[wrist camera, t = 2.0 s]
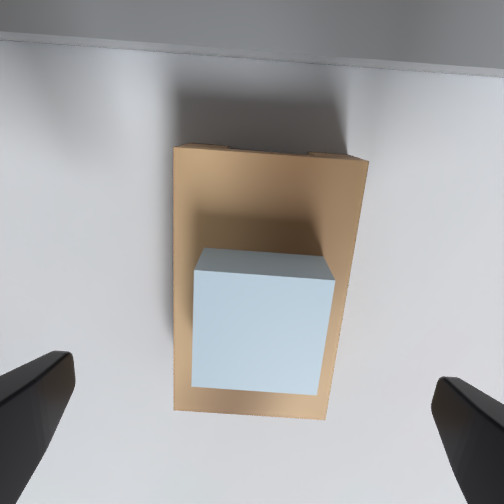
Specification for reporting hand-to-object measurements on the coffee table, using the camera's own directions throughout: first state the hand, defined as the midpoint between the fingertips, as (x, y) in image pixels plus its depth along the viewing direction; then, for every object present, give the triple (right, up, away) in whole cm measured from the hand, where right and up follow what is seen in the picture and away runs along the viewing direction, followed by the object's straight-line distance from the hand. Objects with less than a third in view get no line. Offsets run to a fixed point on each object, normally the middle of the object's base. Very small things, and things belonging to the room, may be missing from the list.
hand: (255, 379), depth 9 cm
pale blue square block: (0, +1, +4) cm, 4 cm away
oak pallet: (0, +2, +7) cm, 7 cm away
